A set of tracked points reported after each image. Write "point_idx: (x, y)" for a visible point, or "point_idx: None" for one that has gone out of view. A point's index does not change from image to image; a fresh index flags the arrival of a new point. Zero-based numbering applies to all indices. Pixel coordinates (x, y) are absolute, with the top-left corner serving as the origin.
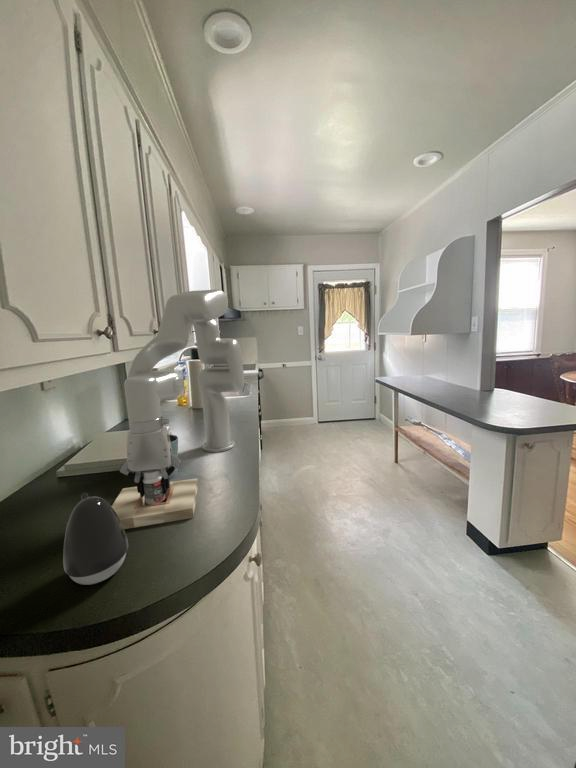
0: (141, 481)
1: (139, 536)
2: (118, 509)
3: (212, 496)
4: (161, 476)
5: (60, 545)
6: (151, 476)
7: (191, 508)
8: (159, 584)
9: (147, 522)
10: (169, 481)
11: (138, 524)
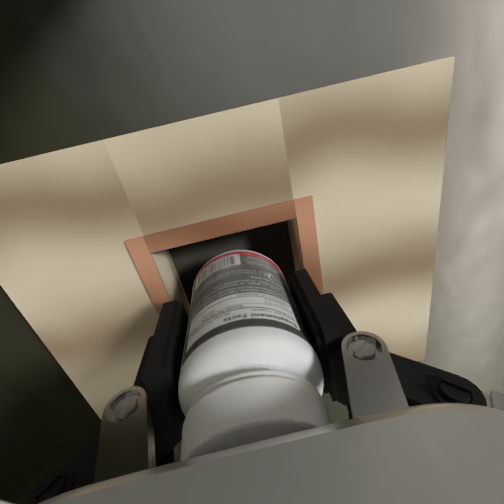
0: (182, 422)
1: None
2: (114, 376)
3: (478, 197)
4: (321, 386)
5: (37, 441)
6: None
7: (420, 359)
8: None
9: None
10: (340, 306)
11: None
